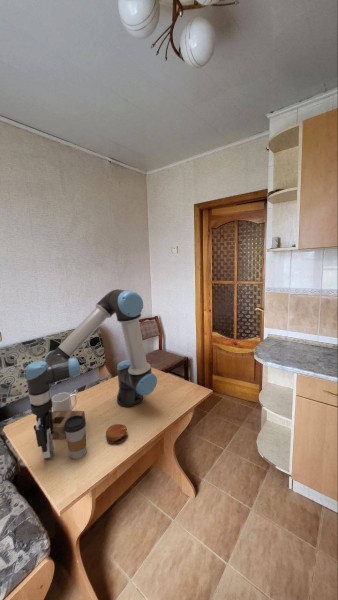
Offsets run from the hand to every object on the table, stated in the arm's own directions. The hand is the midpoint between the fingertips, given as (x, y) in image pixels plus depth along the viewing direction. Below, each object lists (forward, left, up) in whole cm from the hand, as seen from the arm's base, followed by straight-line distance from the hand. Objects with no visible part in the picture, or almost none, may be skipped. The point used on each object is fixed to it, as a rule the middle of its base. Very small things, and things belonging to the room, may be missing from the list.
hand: (48, 453), depth 102 cm
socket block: (+1, -16, -2) cm, 16 cm away
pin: (0, 0, -2) cm, 2 cm away
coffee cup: (-12, -1, -2) cm, 12 cm away
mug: (+5, -28, -2) cm, 28 cm away
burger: (-26, -11, -2) cm, 28 cm away
